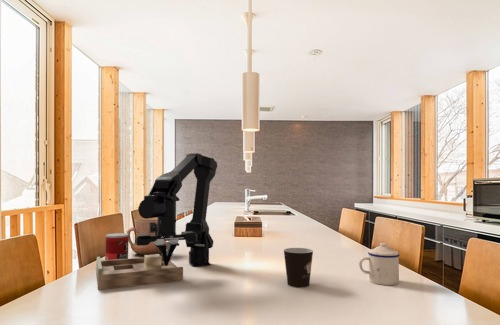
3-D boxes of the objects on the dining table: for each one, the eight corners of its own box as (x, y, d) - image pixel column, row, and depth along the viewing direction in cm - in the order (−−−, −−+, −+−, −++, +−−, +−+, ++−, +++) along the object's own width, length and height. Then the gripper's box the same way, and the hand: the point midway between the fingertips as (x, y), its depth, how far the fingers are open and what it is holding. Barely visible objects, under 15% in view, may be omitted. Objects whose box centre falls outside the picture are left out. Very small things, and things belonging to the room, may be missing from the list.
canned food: (120, 268, 128) (121, 236, 129) (100, 267, 130) (101, 235, 131) (132, 263, 136) (132, 233, 137) (112, 262, 138) (113, 232, 138)
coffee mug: (294, 290, 103) (294, 254, 104) (278, 282, 111) (278, 249, 112) (327, 285, 109) (327, 250, 109) (309, 278, 116) (309, 246, 117)
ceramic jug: (172, 250, 163) (172, 217, 163) (169, 256, 148) (168, 220, 149) (130, 251, 161) (130, 218, 161) (122, 258, 146) (122, 222, 147)
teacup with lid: (393, 278, 117) (393, 241, 118) (404, 286, 108) (403, 246, 109) (355, 277, 118) (355, 240, 118) (363, 285, 109) (362, 245, 109)
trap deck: (169, 266, 131) (169, 251, 131) (182, 280, 112) (183, 262, 113) (96, 273, 121) (96, 256, 121) (97, 289, 103) (98, 269, 103)
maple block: (158, 268, 118) (158, 254, 118) (161, 271, 114) (161, 256, 114) (144, 269, 116) (144, 255, 116) (146, 272, 112) (146, 257, 112)
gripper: (188, 213, 128) (188, 258, 128) (132, 215, 121) (132, 263, 120) (197, 215, 118) (197, 264, 117) (137, 218, 111) (136, 270, 110)
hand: (166, 265), depth 116 cm, fingers closed
